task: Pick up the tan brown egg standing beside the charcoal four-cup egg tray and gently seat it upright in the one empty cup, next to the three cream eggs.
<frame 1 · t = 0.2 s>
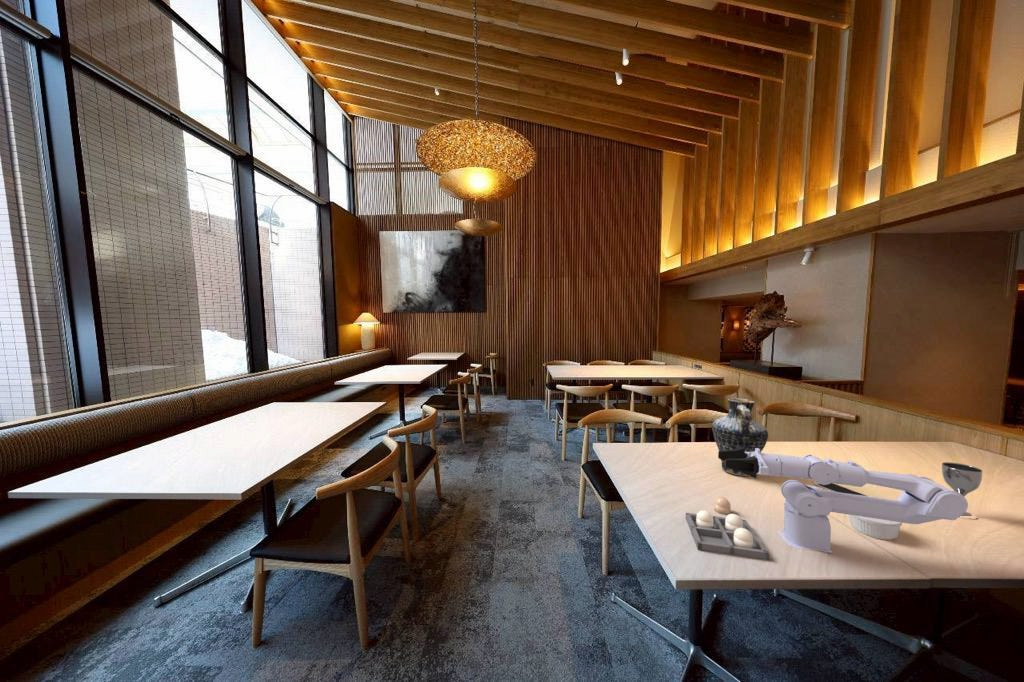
hand: (721, 458, 104), 21 cm above the table, tool horizontal, fingers open, 7 cm apart
jug: (738, 472, 147), on the table
tan egg: (722, 513, 115), on the table
cream egg 1: (734, 531, 103), point 1 cm above the table, touching egg tray
smartphone: (842, 493, 129), on the table
egg tray: (723, 539, 100), on the table
wine glass: (960, 514, 113), on the table
ramekin: (872, 532, 104), on the table
cream egg 2: (704, 527, 105), point 1 cm above the table, touching egg tray
cream egg 3: (743, 547, 96), point 1 cm above the table, touching egg tray
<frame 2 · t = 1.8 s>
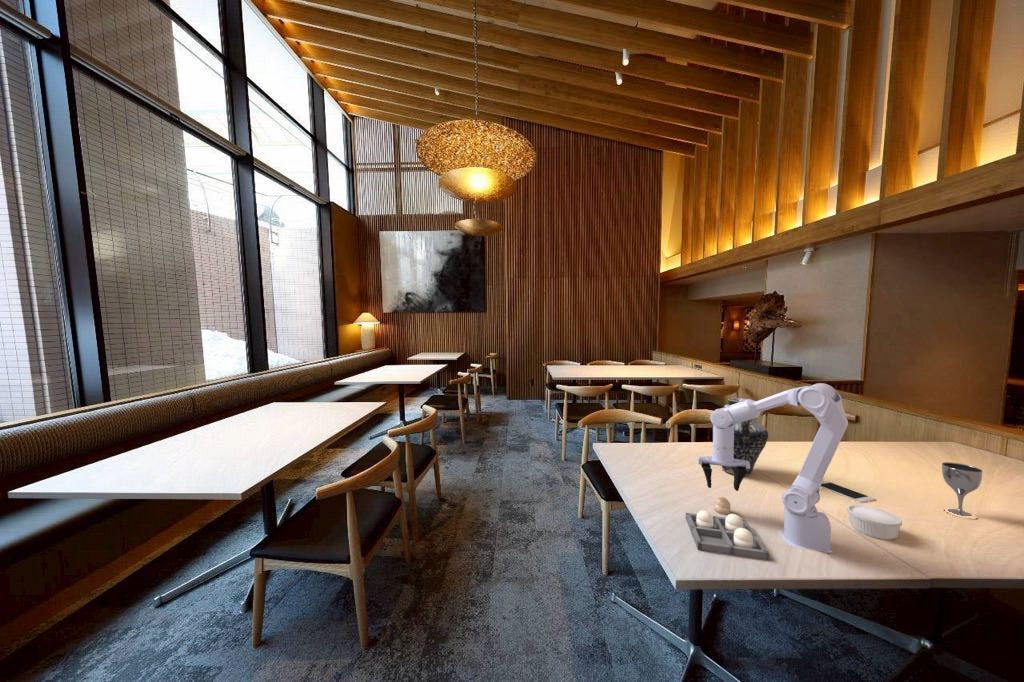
hand: (722, 488, 114), 8 cm above the table, tool pointing down, fingers open, 7 cm apart
nothing on the table moved.
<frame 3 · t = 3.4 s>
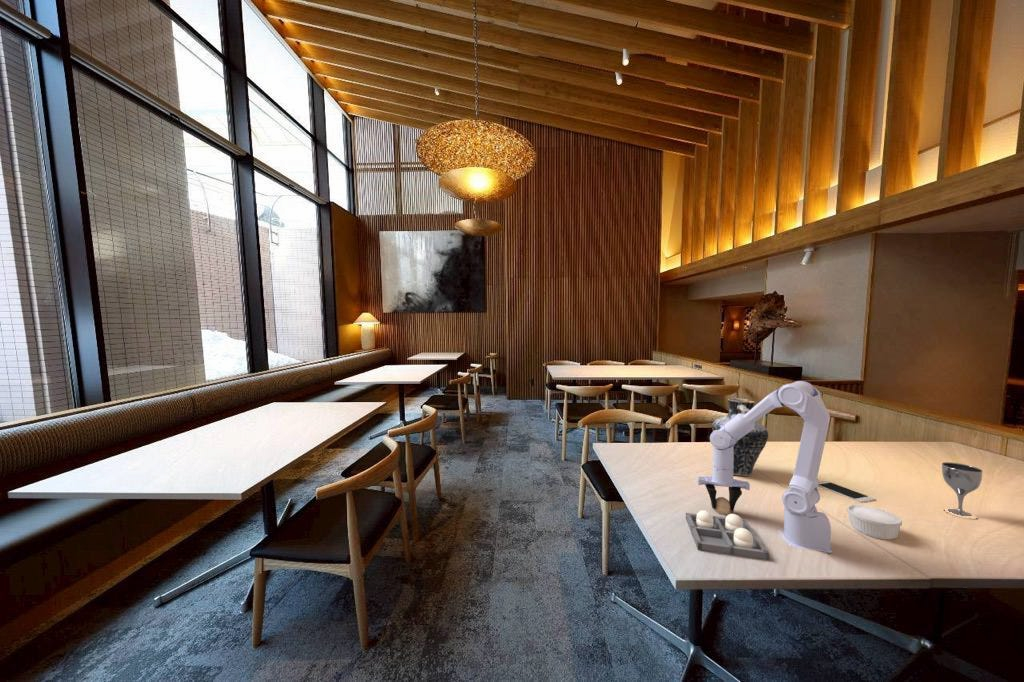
hand: (722, 508, 115), 1 cm above the table, tool pointing down, fingers closed on tan egg, 4 cm apart
tan egg: (722, 513, 115), on the table, touching gripper
everything else where it was.
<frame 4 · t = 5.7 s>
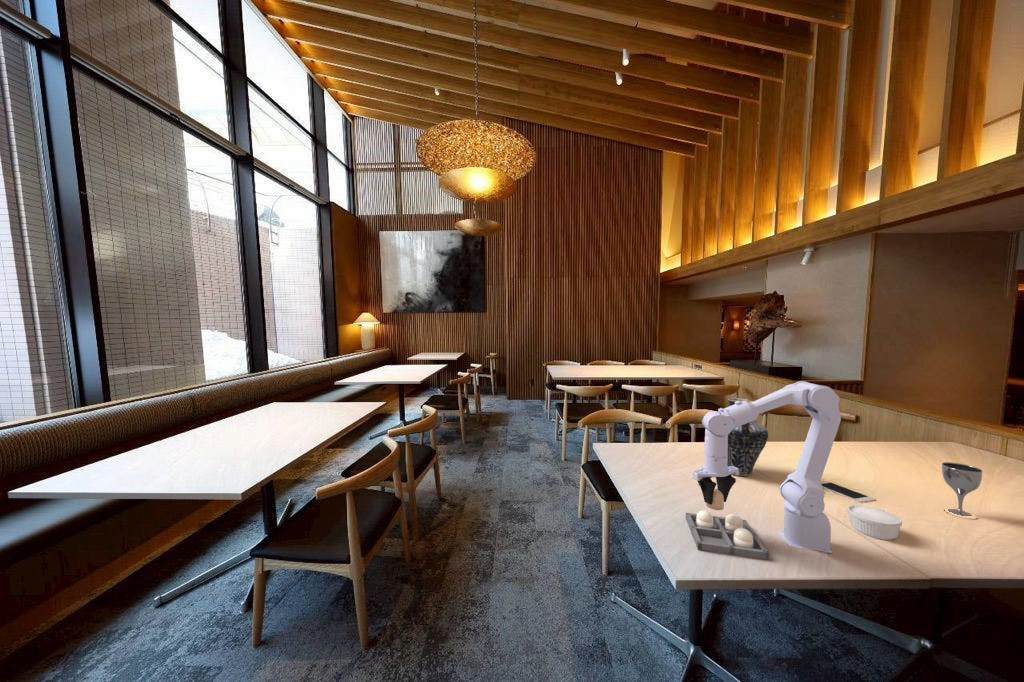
hand: (715, 501, 103), 9 cm above the table, tool pointing down, fingers closed on tan egg, 4 cm apart
tan egg: (714, 506, 103), point 8 cm above the table, touching gripper
everything else where it was.
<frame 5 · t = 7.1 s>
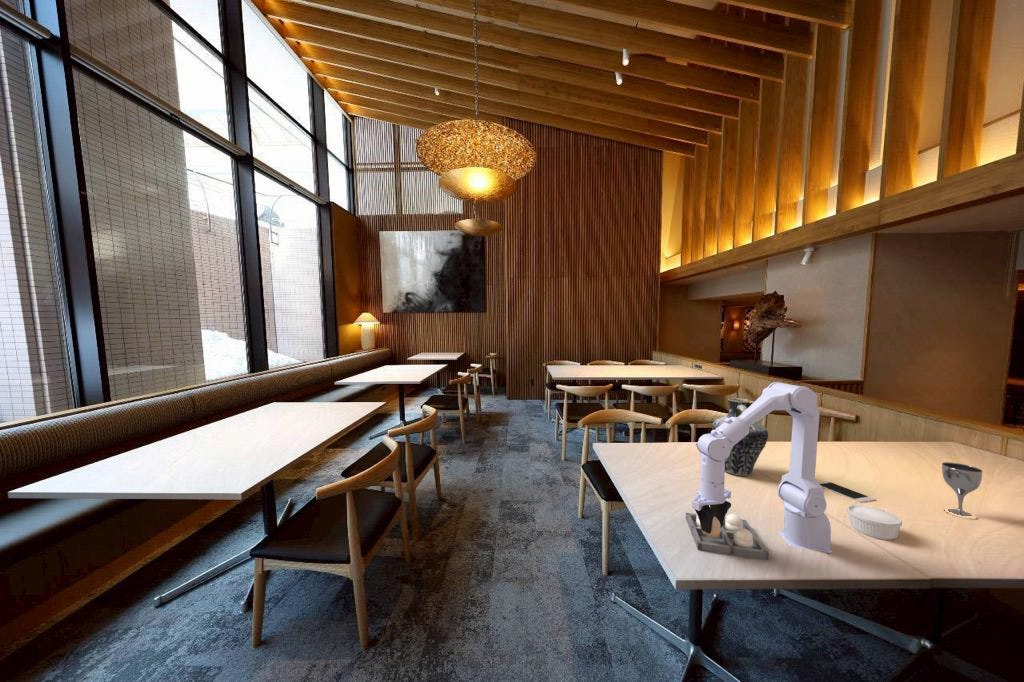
hand: (711, 529, 97), 4 cm above the table, tool pointing down, fingers closed on tan egg, 4 cm apart
tan egg: (711, 534, 98), point 3 cm above the table, touching gripper
everything else where it was.
when the fingers open (3 cm above the table, at t = 8.2 s): tan egg drops 1 cm, resting on egg tray.
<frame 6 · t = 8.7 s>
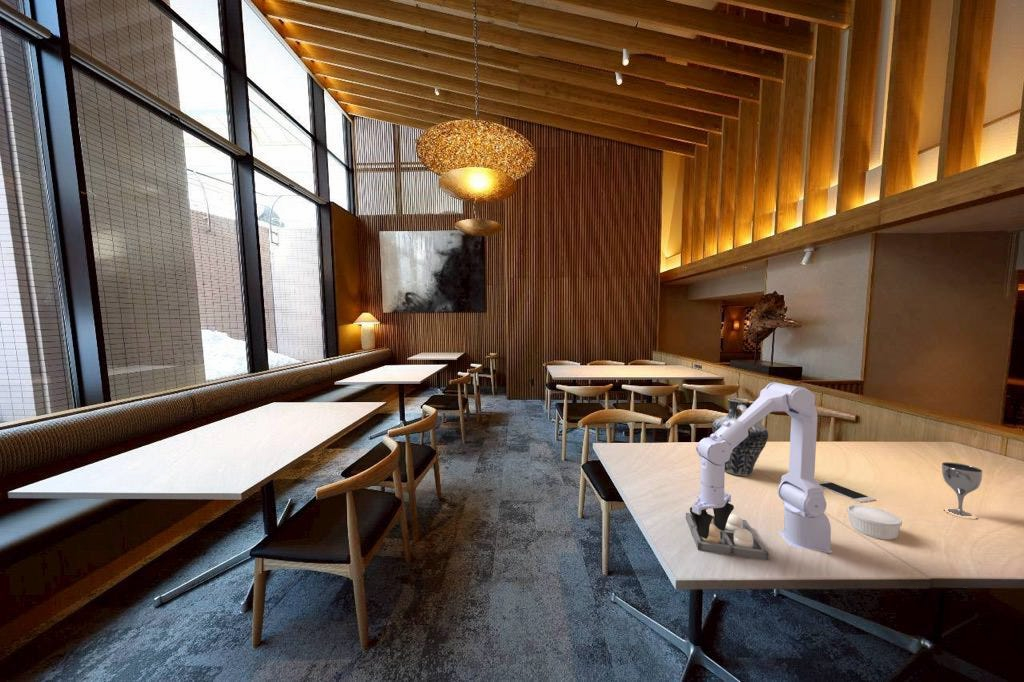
hand: (711, 532, 98), 3 cm above the table, tool pointing down, fingers open, 7 cm apart
tan egg: (710, 542, 98), point 1 cm above the table, touching egg tray
everything else where it was.
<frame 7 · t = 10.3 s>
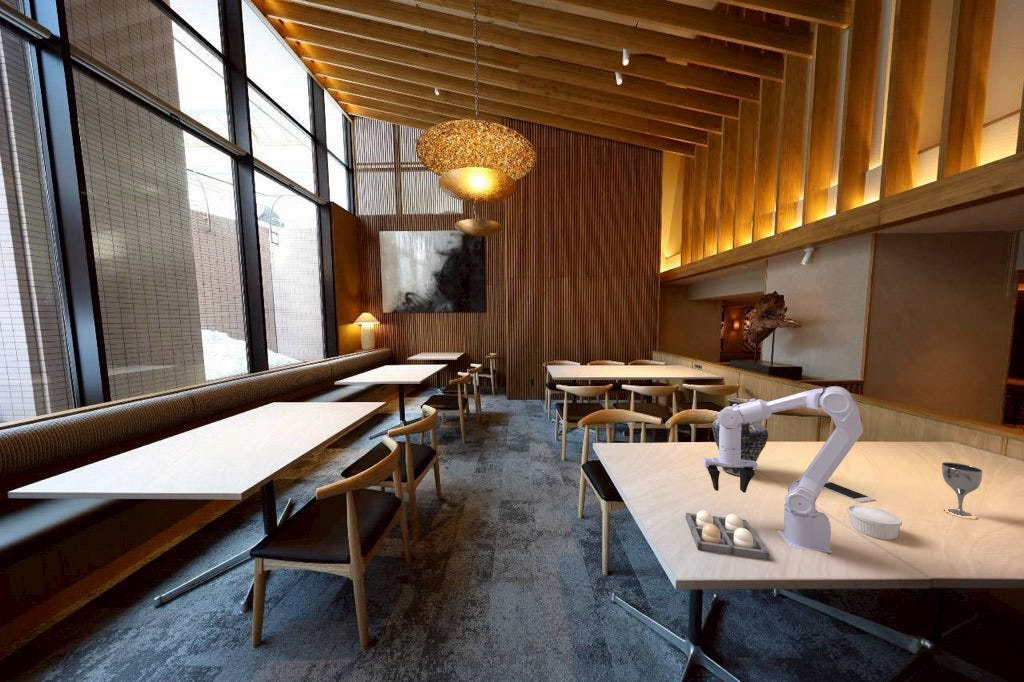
hand: (729, 490, 110), 9 cm above the table, tool pointing down, fingers open, 7 cm apart
nothing on the table moved.
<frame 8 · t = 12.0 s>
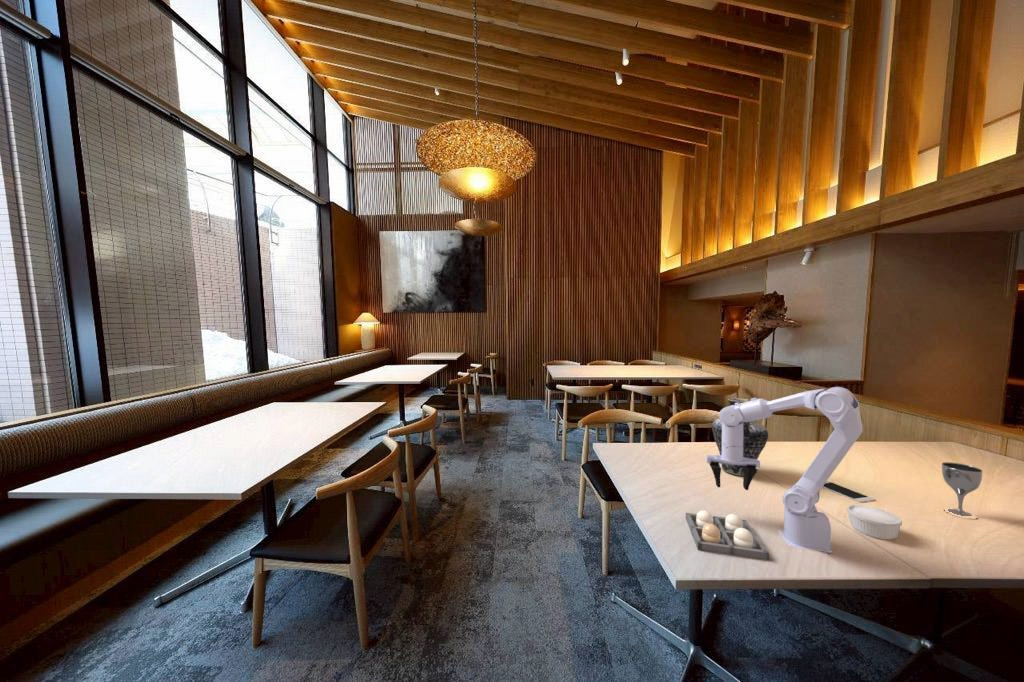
hand: (731, 487, 112), 9 cm above the table, tool pointing down, fingers open, 7 cm apart
nothing on the table moved.
at the end: tan egg 0.1 cm from the target spot on the egg tray, point 0.6 cm above the egg tray's base; tan egg tilted 0°; the gripper is holding nothing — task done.
